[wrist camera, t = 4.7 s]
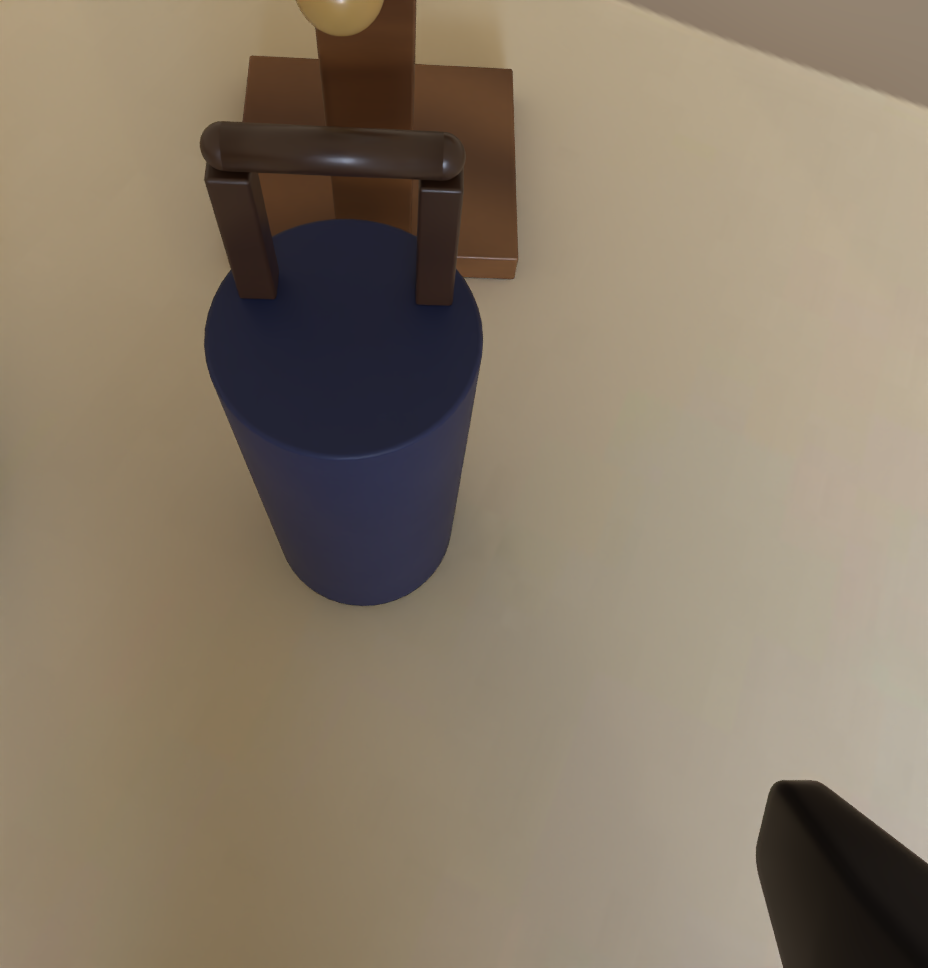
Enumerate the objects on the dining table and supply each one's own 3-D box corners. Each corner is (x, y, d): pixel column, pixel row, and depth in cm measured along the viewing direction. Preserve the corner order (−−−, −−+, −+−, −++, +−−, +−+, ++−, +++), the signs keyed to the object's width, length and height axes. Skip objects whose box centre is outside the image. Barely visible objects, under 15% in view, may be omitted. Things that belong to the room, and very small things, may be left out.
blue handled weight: (451, 607, 22) (511, 348, 10) (272, 605, 22) (121, 336, 10) (451, 445, 24) (503, 59, 12) (285, 441, 23) (167, 41, 12)
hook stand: (518, 443, 24) (686, -98, 10) (216, 436, 23) (-53, -145, 9) (508, 93, 28) (615, -622, 14) (254, 80, 28) (109, -674, 14)
